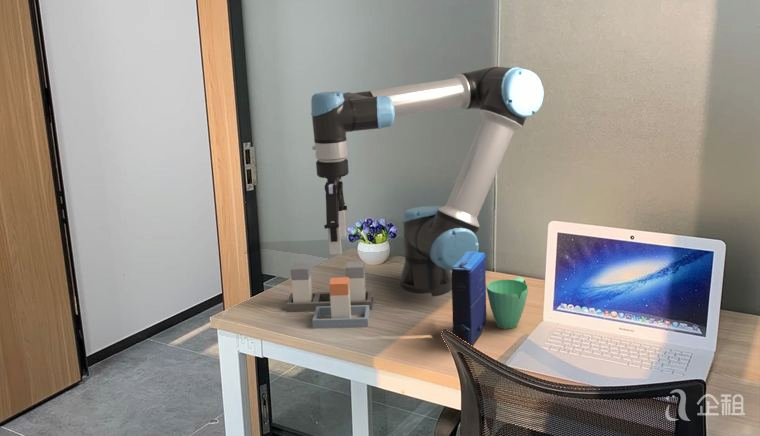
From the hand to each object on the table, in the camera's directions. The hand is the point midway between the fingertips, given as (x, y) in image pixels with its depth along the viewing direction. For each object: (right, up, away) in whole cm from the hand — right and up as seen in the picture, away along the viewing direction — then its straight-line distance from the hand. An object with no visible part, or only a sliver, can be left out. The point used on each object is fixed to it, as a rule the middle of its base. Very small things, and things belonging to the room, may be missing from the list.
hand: (338, 244), depth 167 cm
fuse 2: (+4, -16, +15) cm, 23 cm away
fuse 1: (-10, -17, +16) cm, 25 cm away
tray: (+1, -20, +5) cm, 21 cm away
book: (+31, -22, -5) cm, 39 cm away
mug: (+43, -19, +3) cm, 47 cm away
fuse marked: (+1, -20, +5) cm, 20 cm away
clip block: (-3, -17, +16) cm, 24 cm away
